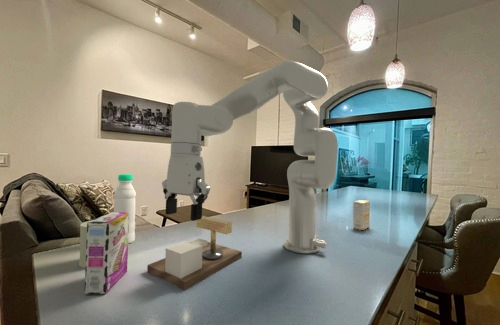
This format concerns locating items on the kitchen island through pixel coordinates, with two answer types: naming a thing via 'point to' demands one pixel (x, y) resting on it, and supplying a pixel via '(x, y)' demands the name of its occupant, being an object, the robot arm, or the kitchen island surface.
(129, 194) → the water bottle
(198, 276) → the panel
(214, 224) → the t key
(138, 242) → the kitchen island surface
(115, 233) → the candy bar box
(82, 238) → the can
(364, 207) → the supplement box
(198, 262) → the cream stepped block
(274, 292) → the kitchen island surface
